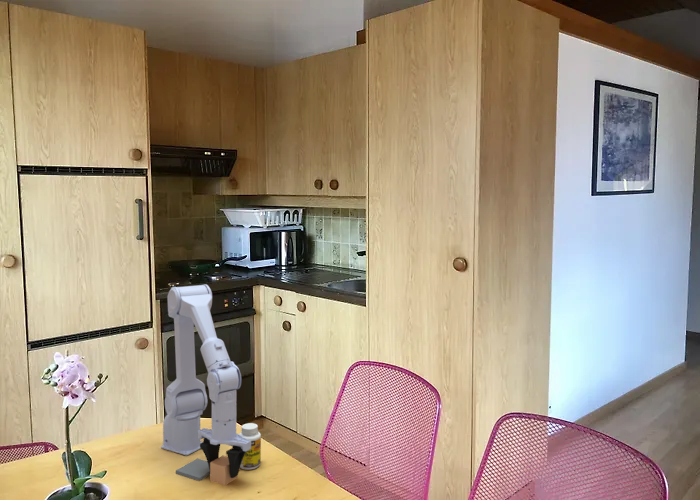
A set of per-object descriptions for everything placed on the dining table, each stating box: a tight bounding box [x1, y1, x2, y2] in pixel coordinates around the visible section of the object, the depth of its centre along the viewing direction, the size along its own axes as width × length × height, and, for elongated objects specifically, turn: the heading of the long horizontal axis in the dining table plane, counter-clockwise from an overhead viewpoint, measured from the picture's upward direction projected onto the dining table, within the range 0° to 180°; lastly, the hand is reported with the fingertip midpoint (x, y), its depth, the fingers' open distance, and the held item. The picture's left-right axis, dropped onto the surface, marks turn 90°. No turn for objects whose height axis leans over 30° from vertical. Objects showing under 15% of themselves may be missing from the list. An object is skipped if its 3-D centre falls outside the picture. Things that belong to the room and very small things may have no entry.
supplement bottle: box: [238, 422, 262, 471], centre depth 143 cm, size 6×6×10 cm
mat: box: [175, 457, 210, 482], centre depth 140 cm, size 8×8×1 cm
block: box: [209, 455, 239, 486], centre depth 136 cm, size 4×4×4 cm
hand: (224, 473), depth 136 cm, fingers open, 6 cm apart
